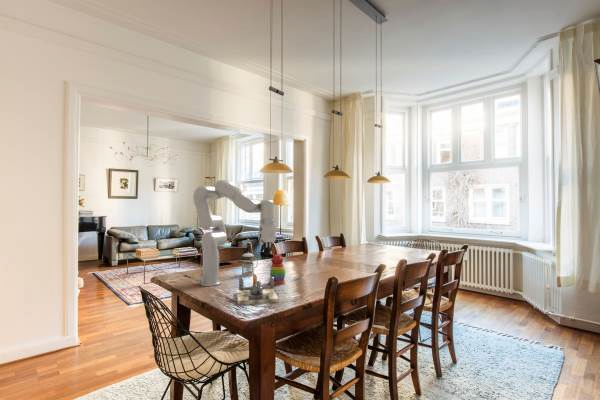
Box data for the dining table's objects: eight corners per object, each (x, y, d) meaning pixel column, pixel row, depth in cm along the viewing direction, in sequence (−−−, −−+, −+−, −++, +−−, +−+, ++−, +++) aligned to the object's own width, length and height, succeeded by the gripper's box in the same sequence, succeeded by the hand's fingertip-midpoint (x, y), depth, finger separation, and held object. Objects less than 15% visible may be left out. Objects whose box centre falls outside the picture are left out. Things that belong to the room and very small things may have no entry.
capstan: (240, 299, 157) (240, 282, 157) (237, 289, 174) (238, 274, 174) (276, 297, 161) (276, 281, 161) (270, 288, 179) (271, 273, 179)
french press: (240, 273, 223) (241, 238, 223) (257, 273, 224) (258, 238, 224) (239, 277, 213) (240, 239, 213) (257, 277, 214) (258, 239, 214)
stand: (237, 305, 155) (237, 297, 155) (235, 293, 175) (235, 286, 175) (278, 302, 160) (279, 295, 160) (272, 291, 180) (272, 284, 180)
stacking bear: (269, 280, 204) (270, 252, 204) (285, 281, 204) (286, 253, 204) (267, 285, 194) (268, 255, 194) (284, 285, 193) (284, 256, 193)
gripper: (262, 222, 172) (262, 256, 172) (280, 221, 184) (280, 253, 184) (252, 222, 177) (252, 255, 177) (271, 221, 189) (270, 252, 189)
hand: (266, 254), depth 180 cm, fingers closed
